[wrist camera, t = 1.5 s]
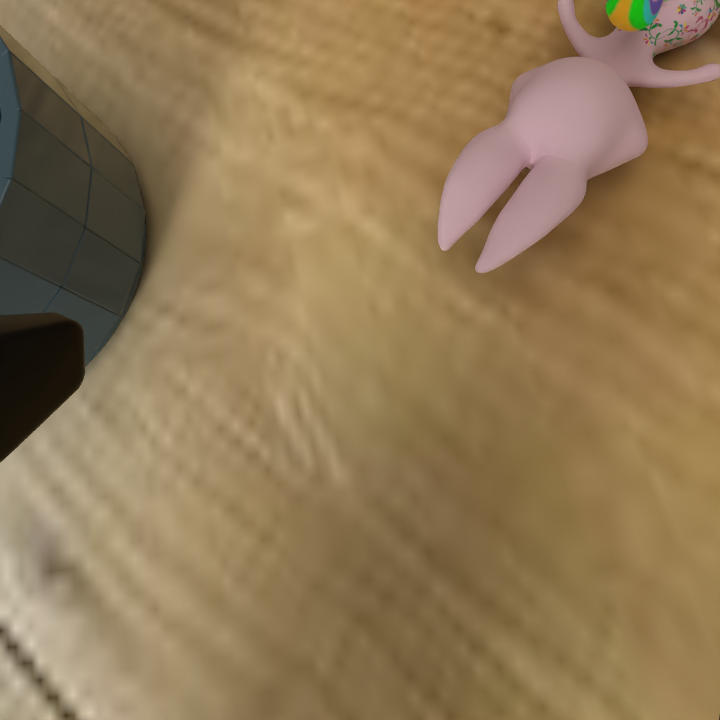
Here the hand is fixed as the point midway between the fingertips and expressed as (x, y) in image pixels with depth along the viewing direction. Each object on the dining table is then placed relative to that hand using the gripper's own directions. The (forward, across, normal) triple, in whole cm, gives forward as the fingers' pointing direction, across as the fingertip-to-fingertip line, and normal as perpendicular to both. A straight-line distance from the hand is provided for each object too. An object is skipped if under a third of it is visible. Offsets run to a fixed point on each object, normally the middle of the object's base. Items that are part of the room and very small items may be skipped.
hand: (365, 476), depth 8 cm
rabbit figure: (+21, +1, -2) cm, 21 cm away
